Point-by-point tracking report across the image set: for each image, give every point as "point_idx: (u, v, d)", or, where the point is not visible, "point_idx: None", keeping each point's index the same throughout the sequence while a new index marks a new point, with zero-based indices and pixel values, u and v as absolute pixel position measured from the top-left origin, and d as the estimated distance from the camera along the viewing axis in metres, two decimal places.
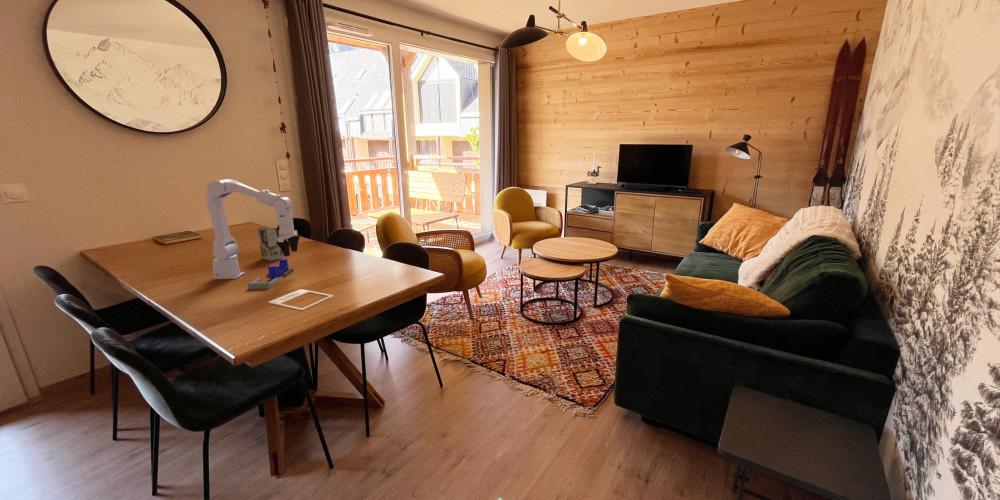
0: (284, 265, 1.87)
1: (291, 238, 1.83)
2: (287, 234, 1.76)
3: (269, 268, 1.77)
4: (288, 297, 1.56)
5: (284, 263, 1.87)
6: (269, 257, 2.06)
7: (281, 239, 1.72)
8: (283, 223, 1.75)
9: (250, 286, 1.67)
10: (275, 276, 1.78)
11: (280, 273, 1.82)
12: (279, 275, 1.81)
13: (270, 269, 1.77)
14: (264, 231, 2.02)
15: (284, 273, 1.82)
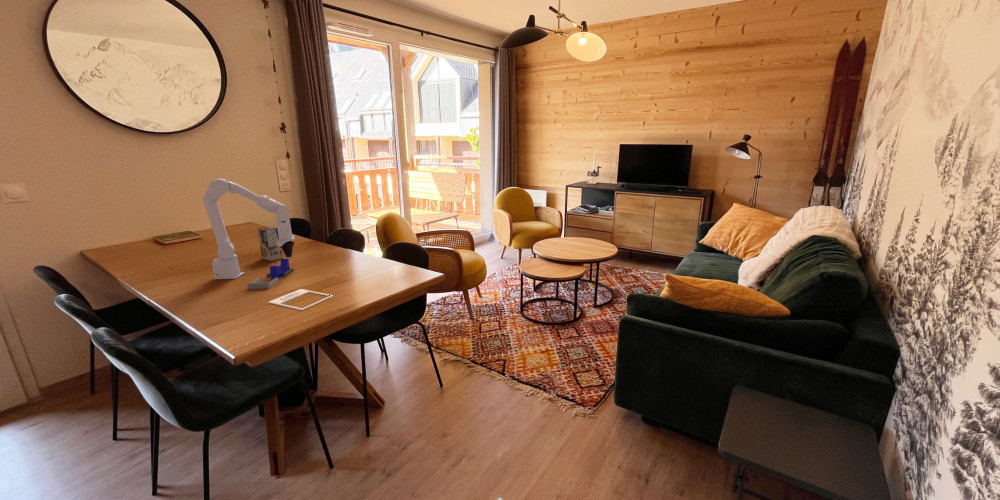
0: (285, 265, 1.87)
1: None
2: (285, 239, 1.89)
3: (270, 268, 1.77)
4: (288, 297, 1.56)
5: (285, 263, 1.88)
6: (269, 257, 2.06)
7: (280, 243, 1.85)
8: (285, 228, 1.88)
9: (250, 286, 1.67)
10: (277, 276, 1.79)
11: (281, 273, 1.82)
12: (280, 275, 1.81)
13: (272, 269, 1.78)
14: (264, 231, 2.02)
15: (284, 273, 1.82)
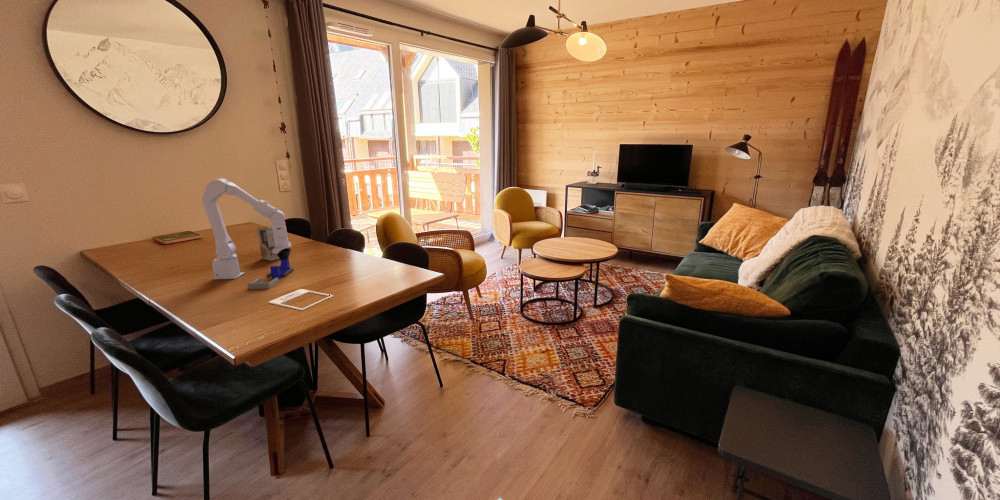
0: (286, 265, 1.87)
1: None
2: (281, 246, 1.85)
3: (271, 268, 1.77)
4: (288, 297, 1.56)
5: (286, 263, 1.87)
6: (269, 257, 2.06)
7: (276, 251, 1.81)
8: (280, 235, 1.84)
9: (250, 286, 1.67)
10: (277, 276, 1.78)
11: (282, 273, 1.82)
12: (281, 275, 1.81)
13: (272, 269, 1.77)
14: (264, 231, 2.02)
15: (284, 273, 1.82)
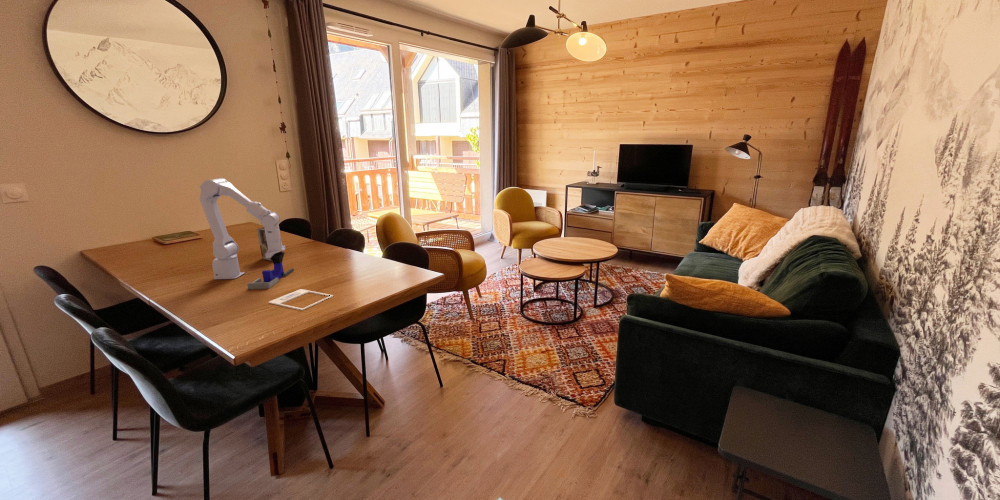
0: (279, 269, 1.80)
1: None
2: (275, 249, 1.79)
3: (263, 273, 1.70)
4: (288, 297, 1.56)
5: (279, 267, 1.81)
6: None
7: (268, 255, 1.75)
8: (271, 239, 1.77)
9: (250, 286, 1.67)
10: None
11: None
12: None
13: (264, 274, 1.71)
14: (264, 231, 2.02)
15: (284, 273, 1.82)
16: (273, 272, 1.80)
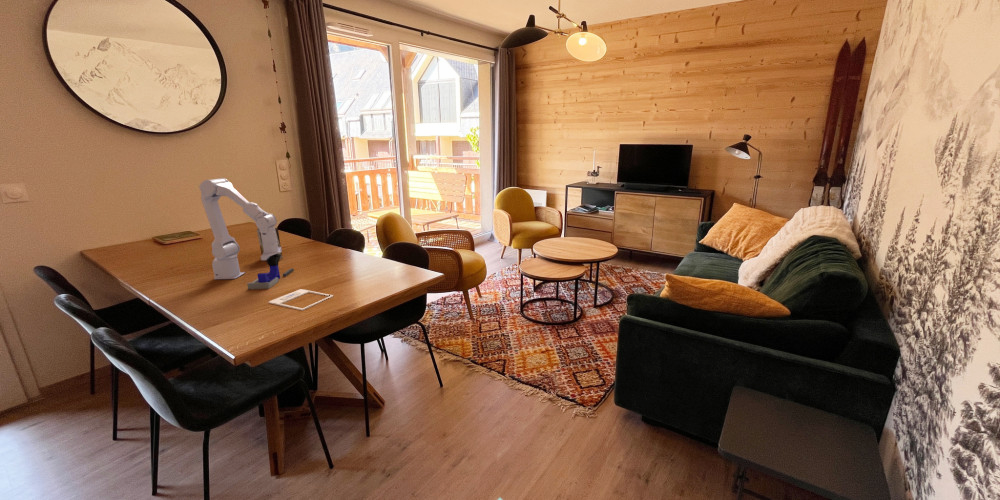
0: (275, 272, 1.77)
1: None
2: (270, 252, 1.75)
3: (259, 276, 1.67)
4: (288, 297, 1.56)
5: (275, 270, 1.77)
6: None
7: (264, 257, 1.71)
8: (265, 241, 1.74)
9: (250, 286, 1.67)
10: None
11: None
12: None
13: (260, 277, 1.67)
14: None
15: (284, 273, 1.82)
16: (269, 275, 1.76)
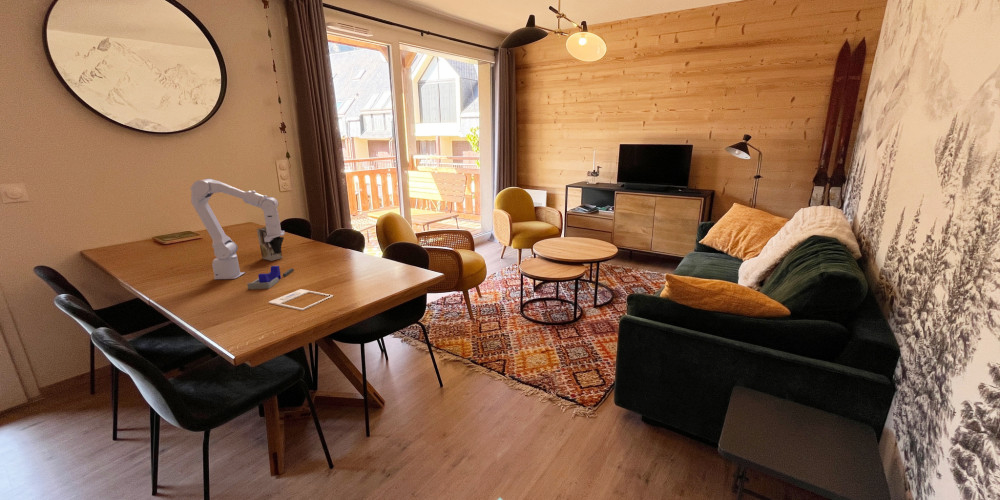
0: (276, 272, 1.77)
1: None
2: (274, 234, 1.80)
3: (259, 276, 1.67)
4: (288, 297, 1.56)
5: (276, 270, 1.77)
6: (269, 257, 2.06)
7: (267, 239, 1.76)
8: (271, 223, 1.78)
9: (250, 286, 1.67)
10: None
11: None
12: None
13: (261, 277, 1.67)
14: (264, 231, 2.02)
15: (284, 273, 1.82)
16: (270, 275, 1.76)
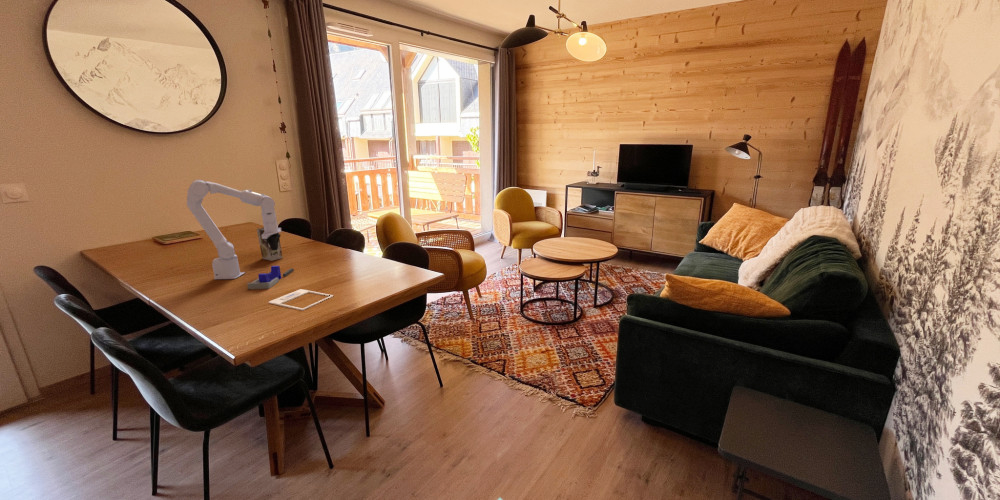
0: (276, 272, 1.77)
1: None
2: (271, 231, 1.86)
3: (259, 276, 1.67)
4: (288, 297, 1.56)
5: (276, 270, 1.77)
6: (269, 257, 2.06)
7: (265, 236, 1.81)
8: (271, 220, 1.85)
9: (250, 286, 1.67)
10: None
11: None
12: None
13: (261, 277, 1.67)
14: (264, 231, 2.02)
15: (284, 273, 1.82)
16: (270, 275, 1.76)
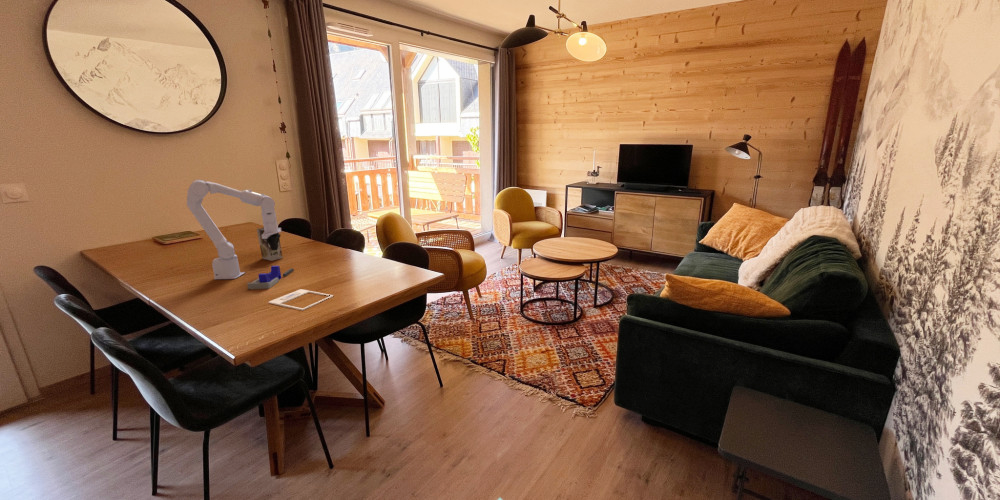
0: (276, 272, 1.77)
1: None
2: (271, 231, 1.86)
3: (260, 276, 1.67)
4: (288, 297, 1.56)
5: (276, 270, 1.77)
6: (269, 257, 2.06)
7: (265, 236, 1.81)
8: (271, 220, 1.85)
9: (250, 286, 1.67)
10: None
11: None
12: None
13: (261, 277, 1.67)
14: (264, 231, 2.02)
15: (284, 273, 1.82)
16: (270, 275, 1.76)
